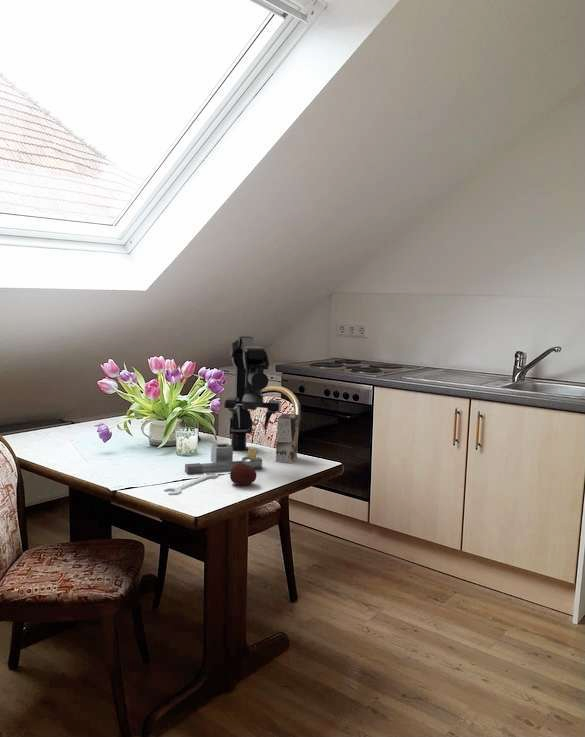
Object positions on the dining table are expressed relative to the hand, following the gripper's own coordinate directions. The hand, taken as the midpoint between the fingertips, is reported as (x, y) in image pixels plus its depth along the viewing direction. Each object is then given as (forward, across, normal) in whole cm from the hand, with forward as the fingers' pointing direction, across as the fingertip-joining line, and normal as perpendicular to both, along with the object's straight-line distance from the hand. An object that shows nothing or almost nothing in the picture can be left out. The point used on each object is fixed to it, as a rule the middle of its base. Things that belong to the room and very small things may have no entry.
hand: (251, 428), depth 225 cm
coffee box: (+14, +11, +12) cm, 21 cm away
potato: (+13, +1, -21) cm, 25 cm away
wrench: (+14, -14, -24) cm, 31 cm away
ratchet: (+13, -8, -7) cm, 17 cm away
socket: (+13, -11, +2) cm, 17 cm away
